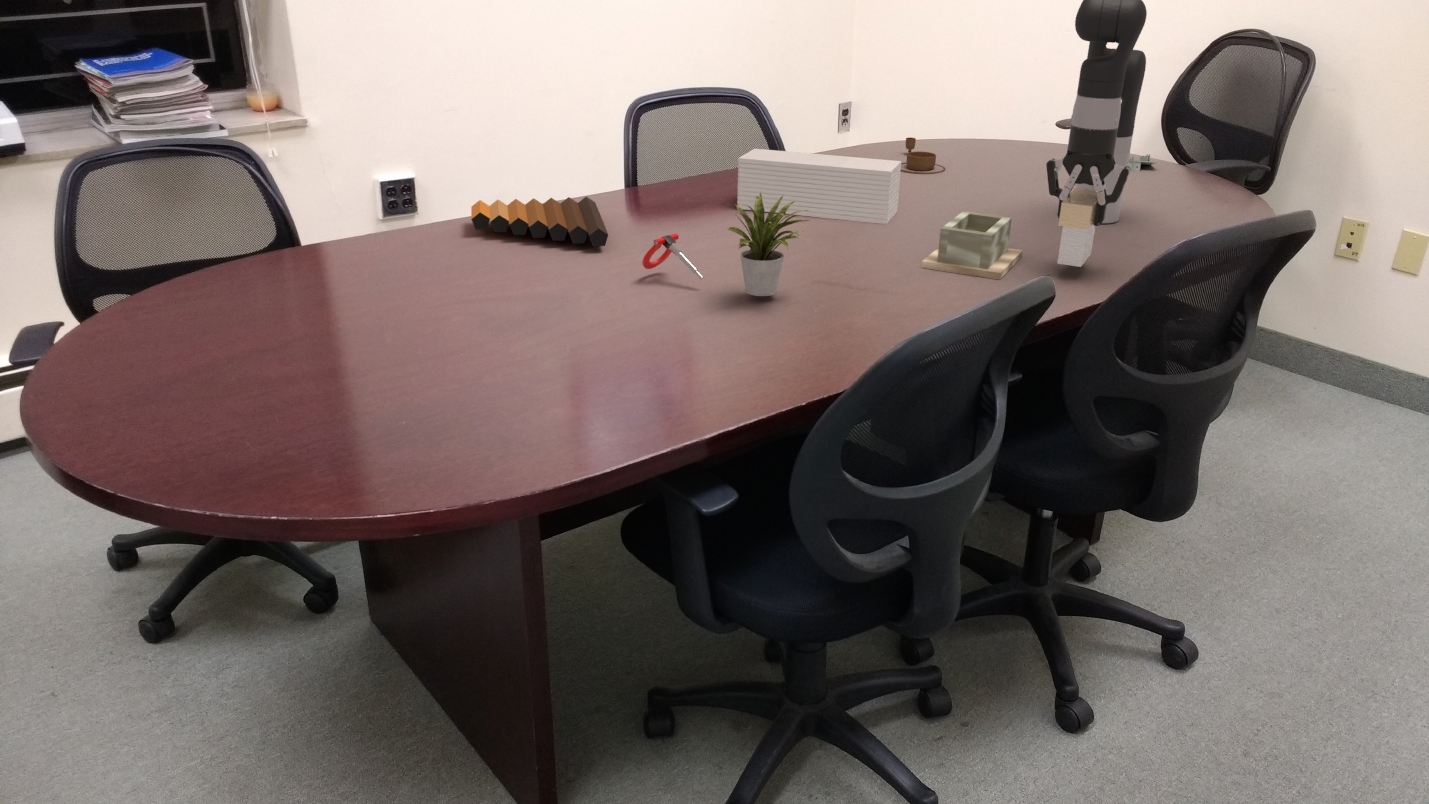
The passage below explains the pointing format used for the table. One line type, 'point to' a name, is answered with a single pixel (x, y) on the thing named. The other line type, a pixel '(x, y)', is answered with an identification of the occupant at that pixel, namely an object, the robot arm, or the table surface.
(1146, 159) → the metal bracket
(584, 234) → the pan flute
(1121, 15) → the robot arm
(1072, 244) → the two-tone square post
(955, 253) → the grey open box
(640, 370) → the table surface
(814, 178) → the stack of papers
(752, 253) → the house plant
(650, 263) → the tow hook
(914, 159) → the place setting
